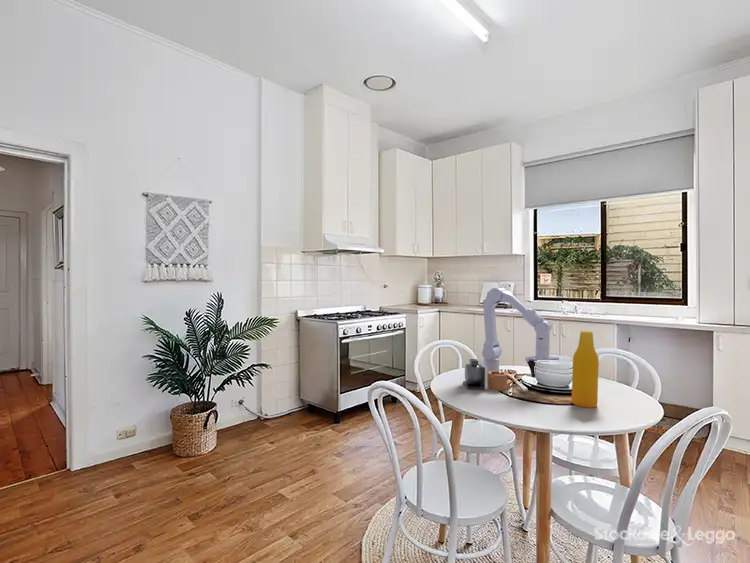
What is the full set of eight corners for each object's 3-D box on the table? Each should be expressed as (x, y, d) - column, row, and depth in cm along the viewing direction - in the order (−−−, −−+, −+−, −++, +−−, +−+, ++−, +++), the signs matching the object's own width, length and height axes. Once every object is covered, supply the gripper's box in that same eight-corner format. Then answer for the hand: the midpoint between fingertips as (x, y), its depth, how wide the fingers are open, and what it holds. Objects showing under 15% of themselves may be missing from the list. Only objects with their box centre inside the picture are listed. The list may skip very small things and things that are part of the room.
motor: (462, 382, 194) (463, 356, 193) (479, 382, 194) (480, 357, 194) (468, 390, 182) (469, 363, 181) (486, 390, 182) (487, 363, 182)
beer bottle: (566, 401, 168) (568, 330, 167) (584, 399, 171) (586, 329, 170) (583, 409, 160) (586, 333, 158) (602, 406, 162) (605, 332, 161)
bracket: (501, 392, 180) (502, 376, 180) (484, 388, 186) (484, 373, 186) (519, 384, 193) (519, 369, 193) (502, 380, 199) (502, 366, 199)
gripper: (529, 348, 184) (529, 379, 184) (562, 349, 184) (561, 379, 184) (524, 345, 191) (523, 375, 191) (555, 346, 191) (554, 375, 191)
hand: (541, 377), depth 188 cm, fingers open, 7 cm apart
